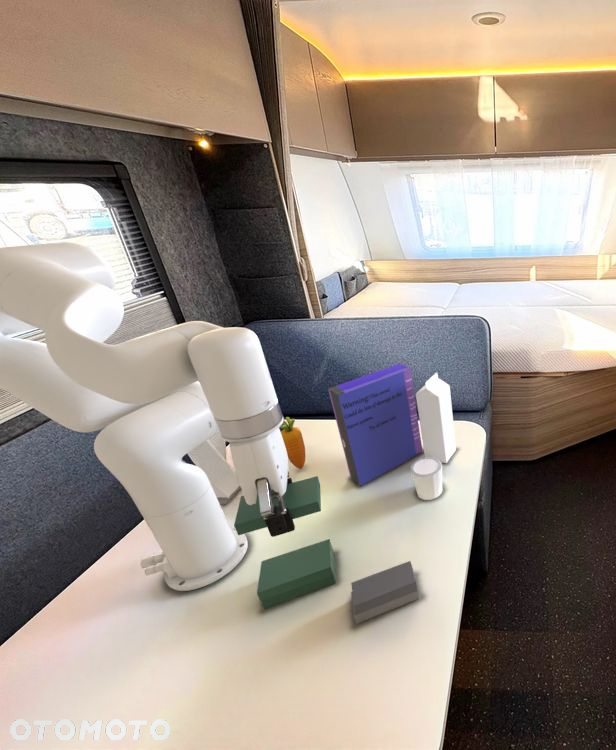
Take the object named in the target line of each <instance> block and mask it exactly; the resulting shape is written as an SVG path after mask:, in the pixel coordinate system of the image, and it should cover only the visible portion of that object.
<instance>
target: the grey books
mask: <svg viewBox="0 0 616 750" xmlns="http://www.w3.org/2000/svg"><path fill="white" fill-rule="evenodd" d="M350 584H351V592H350V595H351V604H352V615H353V619H354V622H355V623H354V624H356V625H357V624H360V623H362V622H366V621H368V620H371V619H372V618H374V617H377V616H380V615H382V614H385V613H387V612H389V611H392V610H394V609H397V608H400V607H402V606H405V605H406V604H409V603H411V602H414V601H417V600H418V599H420V594H419V589H418V584H417V580H416V576H415V571H414V568H413V564H412V561H411V560H408V561H406V562H402V563H399V564H398V565H394V566H392V567H390V568H387V569H384V570H382V571H379V572H376V573H373V574H370V575H368V576H365V577H363V578H360V579H358V580H355V581H352V582H351V583H350Z"/></svg>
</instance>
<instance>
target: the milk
mask: <svg viewBox="0 0 616 750" xmlns="http://www.w3.org/2000/svg"><path fill="white" fill-rule="evenodd" d="M438 374H439V373H438V372H435V373H434V374H433V375H432V376H431V377H430V378H428V379H427V380H426V381H425V384H424V385H423V387H421V388H420V389H419V390H418V391H417V392H416V393H415V398H416V399H415V400H416V407H417V414H418V421H419V428H420V434H421V441H422V448H423V453H424V457H434V458H437V459H439V460H440V461H441V463H442V464H447V463H448V462H449V461H450V459H451V458H452V456H453V455H454V454H455V452H456V450H457V444H456V435H455V425H454V416H453V415H454V414H453V406H452V397H451V396H452V395H451V387H450V384H448V383H447V382H446V381H444V380H443V379H441V378H439V375H438Z"/></svg>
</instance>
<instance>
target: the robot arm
mask: <svg viewBox="0 0 616 750" xmlns="http://www.w3.org/2000/svg"><path fill="white" fill-rule="evenodd" d="M116 281H117V280H116V274H115V271H114V269H113V268H112V266H111V264H110V263H109V262H108V260H107V259H105V257H104V256H102V255H101V254H100V253H99V252H97V251H95V250H94V249H92V248H90V247H89V246H85V245H83V244H80V243H76V242H68V241H60V242H49V243H39V244H38V243H37V244H26V245H16V246H15V245H14V246H6V247H0V389H2V390H4V391H5V392H7V393H9V394H10V395H12V396H13V397H15V398H16V399H18V400H20V401H21V402H23V403H25V404H26V405H28V406H29V407H31V408H33V409H34V410H36V411H38V412H39V413H41V414H42V415H44V416H46V417H47V418H49V419H51V420H52V421H54V422H56V423H57V424H59V425H61V426H62V427H64V428H66V429H69V430H71V431H74V432H79V433H93V432H96V431H97V432H98V431H99V430H101V431H100V432H99V433H98V434H97V435H96V437H95V438H94V439H95V440H94V443H93V452H94V454H95V455H96V457H97V459H98V460H99V462H100V463H101V464H102V465H103V466H104V467H105V468H106V470H108V471H109V472H110V473H111V474H112V475H113V476H114V477H115V479H117V481H118V482H120V484H121V485H122V486H123V487H124V489H125V491H126V492H127V493H128V495H129V496H130V498H131V499H132V502H134V504H135V506H136V508H137V510H138V511H139V513H140V514H141V516H142V517H143V519H144V521H145V523H146V524H147V526H148V529H149V530H150V532H151V534H152V535H153V537H154V539H155V540H156V542H157V544H158V546H159V547H160V549H161V550H162V552H158V553H153V554H150V555H146V556H143V557H142V558H141V559H140V566H141V568H142V569H144V574H145V576H146V577H147V576H151V575H154V574H157V573H160V572H163V573H164V575H163V576H164V581H165V583H166V585H167V586H168V587H169V588H170V589H172V590H174V591H179V592H187V591H194V590H199V589H201V588H204V587H206V586H209V585H211V584H213V583H215V582H217V581H218V580H220V579H222V578H223V577H224V576H226V575H228V574H229V573H230V572H231V571H232V570H234V569H235V568H236V567H237V566H238V565H239V563H240V562H241V561H242V559H243V558H244V557H245V555H246V553H247V551H248V548H249V541H248V539H247V536H246V535H245V534H242V535H238V533H237V531H236V529H232V528H231V526H230V524H229V521H228V520H227V517H226V515H225V513H224V510H223V508H222V505H220V504H219V502H218V499H217V497H216V495H215V493H214V491H213V488H212V486H211V484H210V482H209V480H208V477H207V476H206V474H205V472H204V471H203V470H202V469H200V468H199V467H197V466H196V465H195V464H190V463H187V462H185V463H183V462H182V461H181V459H182V460H183V458H184V457H185V456H186V455H188V454H187V453H188V452H190V451H191V450H192V449H194V448H195V447H197V446H199V445H200V444H202V443H203V442H205V441H206V440H208V439H210V438H211V437H213V436H214V435H216V434H217V433H218V432H220V434H221V437H222V439H223V440H225V442H228V444H229V450H230V454H231V459H232V462H233V467H234V470H235V471H236V474H237V477H238V480H239V483H240V486H241V488H240V489H241V492H242V494H243V495H242V496H244V498H245V501H246V503H247V504H248V505H252V504H256V500H257V495H258V496H259V505H260V513H261V516H263V518H264V520H265V522H266V525H267V527H266V528H267V530H268V532H269V535H270V537H272V538H274V537H277V536H282V535H284V534H288V533H291V532H294V531H295V529H296V524H295V522H294V519H292V516H291V513H290V510H289V508H286V506H285V502H284V497H283V495H284V494H285V492H286V487H287V484H289V483H293V482H294V481H293V479H292V477H290V471H289V462H290V460H289V459H288V455H287V451H286V447H285V444H284V441H283V438H282V435H281V432H280V429H279V427H280V426H281V425H282V424H283V421H285V417H284V415H283V412H282V409H281V405H280V403H279V400H278V396H277V393H276V390H275V387H274V384H273V380H272V377H271V374H270V370H269V367H268V364H267V361H266V357H265V354H264V352H263V348H262V345H261V341H260V339H259V337H258V336H257V334H256V333H255V332H254V331H253V330H251V329H249V328H247V327H240V326H239V327H238V326H234V327H233V326H231V327H223V326H221V325H217V324H214V323H211V322H208V321H202V320H194V321H193V320H192V321H187V322H183V323H179V324H176V325H174V326H170V327H166V328H163V329H160V330H157V331H154V332H150V333H147V334H144V335H141V336H137V337H134V338H131V339H128V340H125V341H122V342H119V343H116V344H108V343H104V342H106V341H107V340H108V339H109V338H110V337H111V336H112V335H113V334H114V333H116V332H117V330H118V329H119V328H120V326H121V324H122V322H123V319H124V314H125V307H124V304H123V301H122V299H121V297H120V296H119V295H118V294H117V292H115V291H114V289H115V287H116ZM34 329H38V330H41V331H43V332H44V337H45V339H44V340H45V343H44V342H39V341H36V340H29V339H24V338H16V337H11V336H9V335H14V334H18V333H22V332H27V331H30V330H34ZM198 381H199V382H198ZM270 490H274V491H275V492H276V493H273V494H271V491H270ZM275 498H278V502H279V506H277V505H276V506H274V505H273V504H272V499H275Z"/></svg>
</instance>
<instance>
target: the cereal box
mask: <svg viewBox="0 0 616 750" xmlns="http://www.w3.org/2000/svg"><path fill="white" fill-rule="evenodd" d="M411 370H412V369H411V368H410V367H408V366H406V365H404V364H401V363H397V364H393V365H390V366H388V367H385V368H383V369H380V370H377V371H374V372H372V373H371V372H370V373H369V374H366V375H365V374H364V375H363V376H360V377H357V378H355V379H352V380H349V381H346V382H343V383H341V384H337V385H335V386H332V387H329V388H328V389H327V390H328V394H329V399H330V402H331V406H332V410H333V414H334V418H335V421H336V426H337V430H338V433H339V437H340V441H341V446H342V449H343V453H344V457H345V461H346V465H347V469H348V472H349V478H350V479H352V481H353V482H354V483H356V485H358V486H359V487H360V488H361V487H362V486H364V485H366V484H368V483H370V482H372V481H374V480H376V479H377V478H380V477H381V476H382V475H384V474H386V473H389V472H390V471H392V470H393V469H395V468H397V467H399V466H401V465H402V464H405V463H406V462H408V461H410V460H411V459H414V458H415V457H417V456H419V455H420V454H422V453H424V450H423V443H422V436H421V430H420V423H419V416H418V409H417V403H416V399H415V398H416V396H415V390H414V385H413V377H412V372H411Z"/></svg>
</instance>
